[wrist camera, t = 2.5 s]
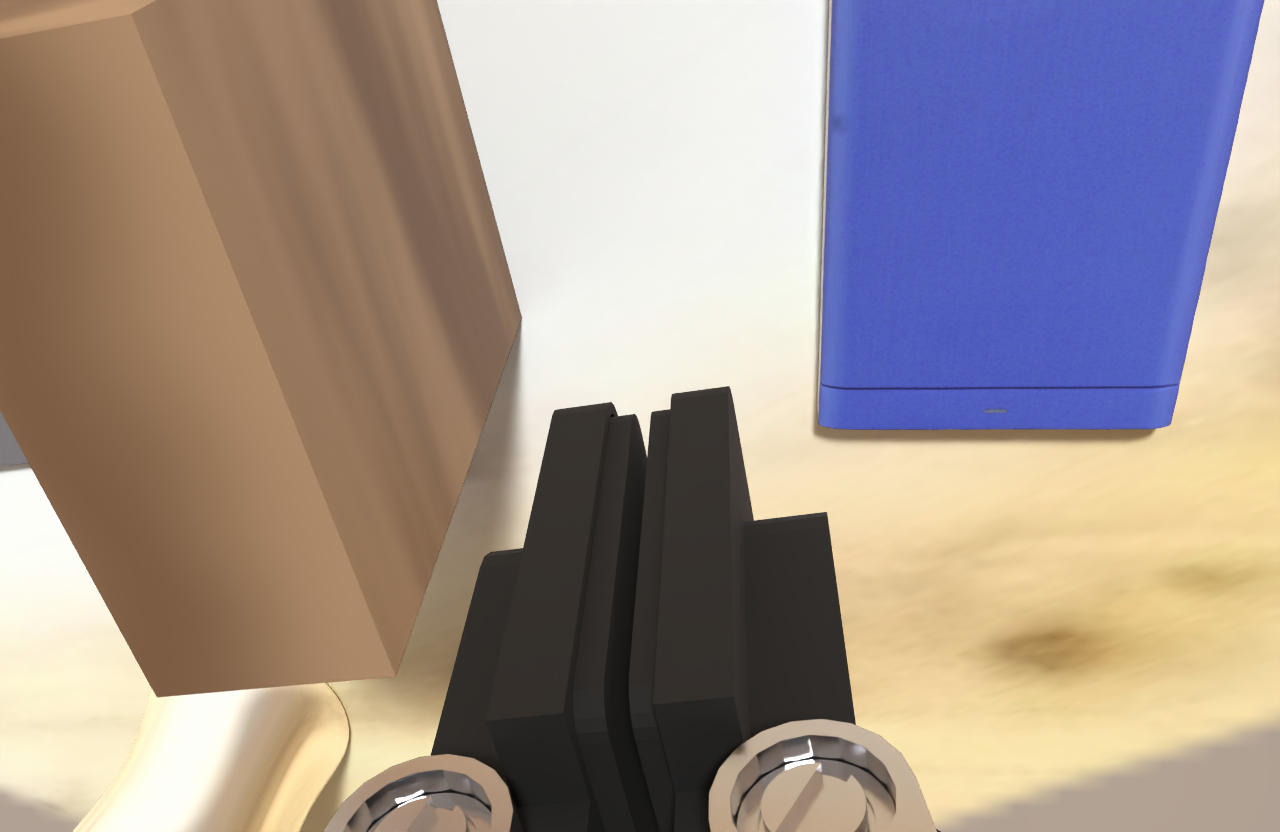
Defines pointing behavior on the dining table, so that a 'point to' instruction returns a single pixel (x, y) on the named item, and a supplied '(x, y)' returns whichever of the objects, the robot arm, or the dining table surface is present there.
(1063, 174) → the hard drive
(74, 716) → the dining table surface
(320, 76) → the slab
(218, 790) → the beer glass
